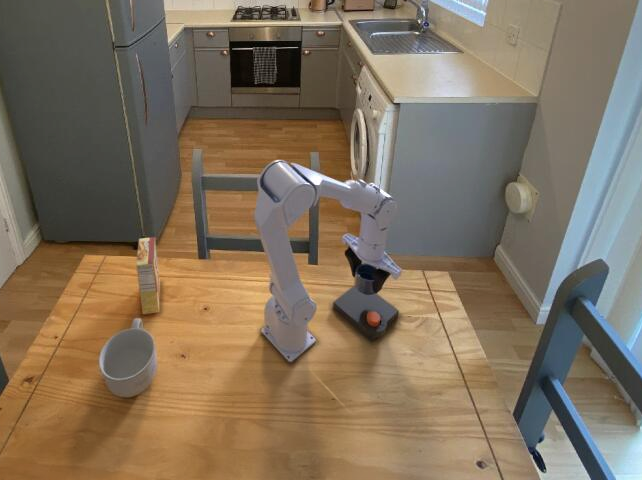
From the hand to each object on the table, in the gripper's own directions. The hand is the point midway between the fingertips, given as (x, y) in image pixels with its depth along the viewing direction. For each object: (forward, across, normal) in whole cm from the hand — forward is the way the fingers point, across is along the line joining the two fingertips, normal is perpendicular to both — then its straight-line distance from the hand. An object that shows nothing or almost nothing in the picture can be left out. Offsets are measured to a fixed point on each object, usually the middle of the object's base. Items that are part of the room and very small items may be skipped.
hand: (366, 282), depth 98 cm
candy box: (+7, +34, +39) cm, 52 cm away
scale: (+7, -2, +2) cm, 7 cm away
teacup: (+7, +20, +50) cm, 54 cm away
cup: (+1, 0, 0) cm, 1 cm away
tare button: (+4, -5, +4) cm, 8 cm away
